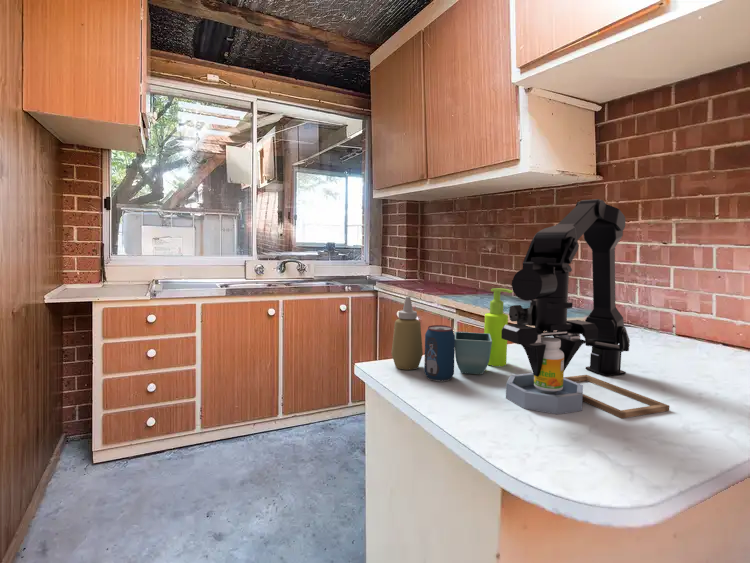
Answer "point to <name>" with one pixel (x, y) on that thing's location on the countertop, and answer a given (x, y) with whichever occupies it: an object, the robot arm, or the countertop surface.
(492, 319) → the soap dispenser
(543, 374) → the supplement bottle
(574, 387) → the bowl
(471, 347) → the flower pot
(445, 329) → the soda can
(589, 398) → the wooden frame
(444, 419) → the countertop surface
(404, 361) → the squeeze bottle
